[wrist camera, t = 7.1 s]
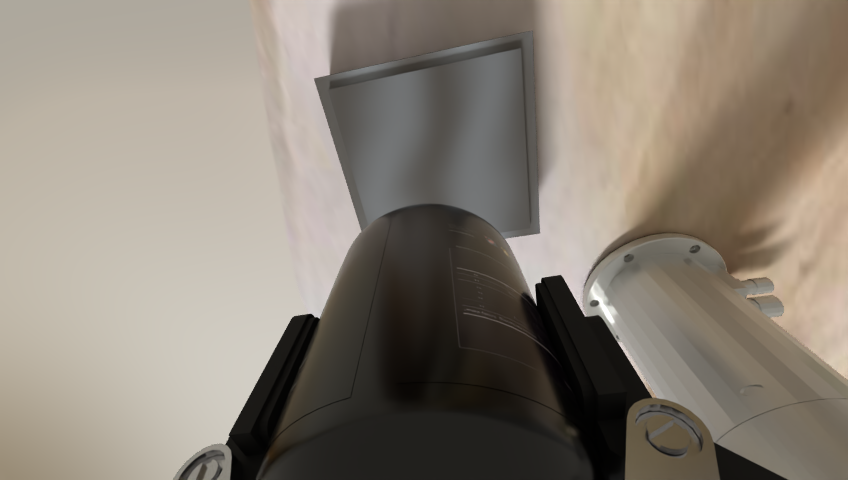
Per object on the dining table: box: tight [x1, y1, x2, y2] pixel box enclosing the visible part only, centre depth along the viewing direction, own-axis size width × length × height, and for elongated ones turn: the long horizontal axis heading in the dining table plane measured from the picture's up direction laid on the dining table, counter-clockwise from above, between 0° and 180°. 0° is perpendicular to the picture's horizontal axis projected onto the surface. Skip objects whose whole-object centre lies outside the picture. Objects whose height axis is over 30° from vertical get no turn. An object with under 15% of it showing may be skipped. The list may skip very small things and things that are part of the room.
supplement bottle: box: [255, 203, 610, 480], centre depth 8 cm, size 7×7×12 cm
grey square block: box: [314, 31, 540, 239], centre depth 26 cm, size 14×14×4 cm
